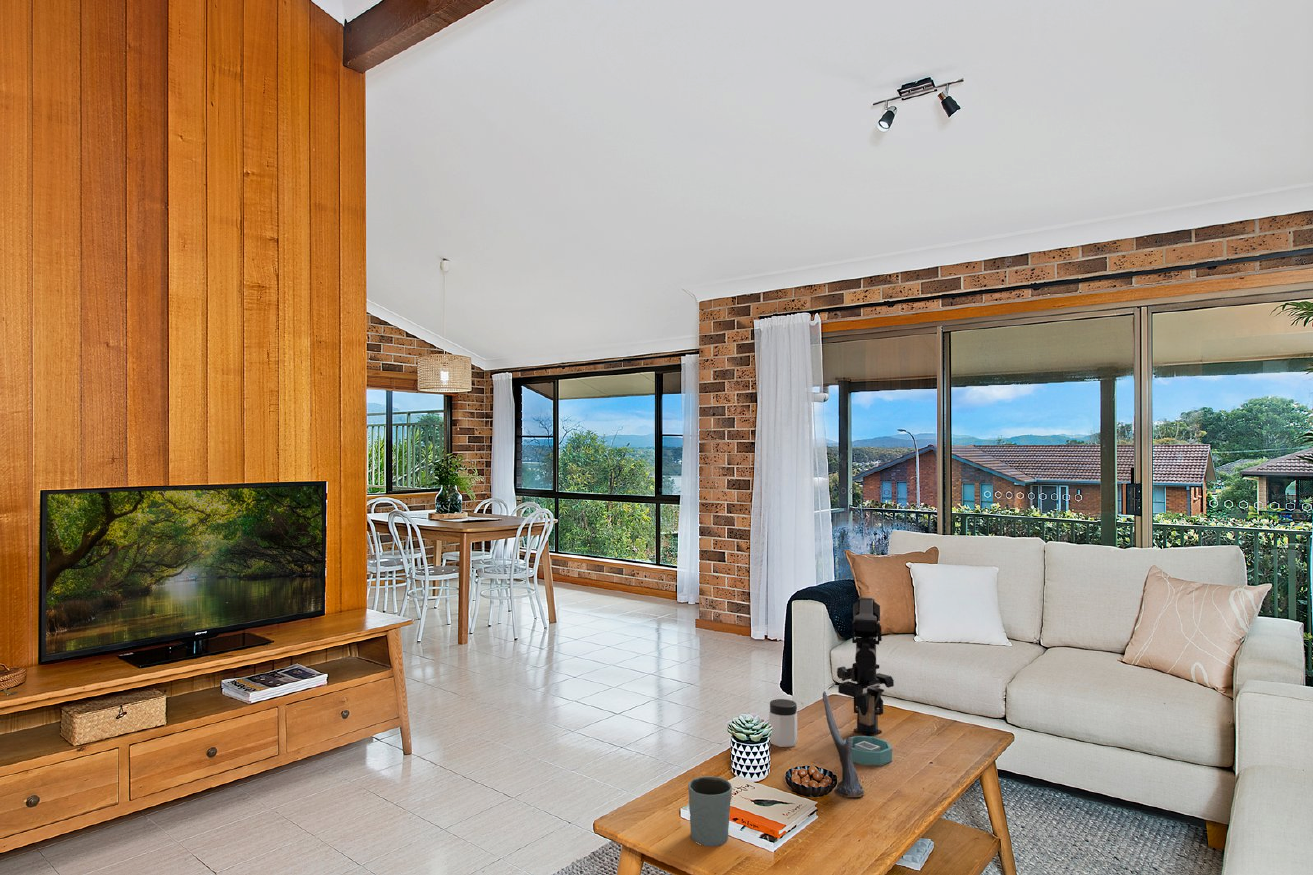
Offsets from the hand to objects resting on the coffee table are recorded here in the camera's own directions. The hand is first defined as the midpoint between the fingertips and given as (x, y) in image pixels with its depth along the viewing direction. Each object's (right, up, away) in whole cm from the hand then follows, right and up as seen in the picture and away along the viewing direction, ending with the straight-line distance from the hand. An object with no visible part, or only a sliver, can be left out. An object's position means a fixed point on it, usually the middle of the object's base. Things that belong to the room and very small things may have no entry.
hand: (866, 714), depth 230 cm
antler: (-13, -12, -24) cm, 30 cm away
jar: (-23, -13, +11) cm, 28 cm away
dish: (0, -12, 0) cm, 12 cm away
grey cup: (-49, -11, -50) cm, 71 cm away
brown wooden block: (0, -3, 0) cm, 3 cm away
